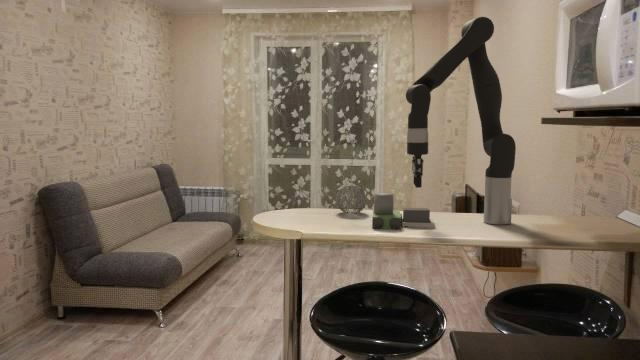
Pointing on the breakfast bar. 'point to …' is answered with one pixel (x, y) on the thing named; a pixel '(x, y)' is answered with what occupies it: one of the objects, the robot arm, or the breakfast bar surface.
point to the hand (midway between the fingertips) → (417, 186)
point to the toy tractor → (391, 214)
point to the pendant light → (351, 194)
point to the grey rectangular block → (416, 215)
